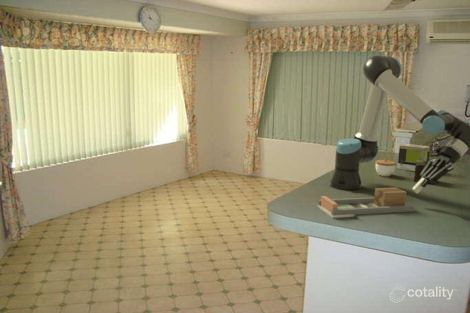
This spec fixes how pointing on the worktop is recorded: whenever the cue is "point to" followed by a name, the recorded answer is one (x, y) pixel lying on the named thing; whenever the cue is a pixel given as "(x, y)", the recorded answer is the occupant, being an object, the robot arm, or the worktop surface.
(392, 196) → the walnut block
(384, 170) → the lidded jar
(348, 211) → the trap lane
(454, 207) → the worktop surface
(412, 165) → the tea box
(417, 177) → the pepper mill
